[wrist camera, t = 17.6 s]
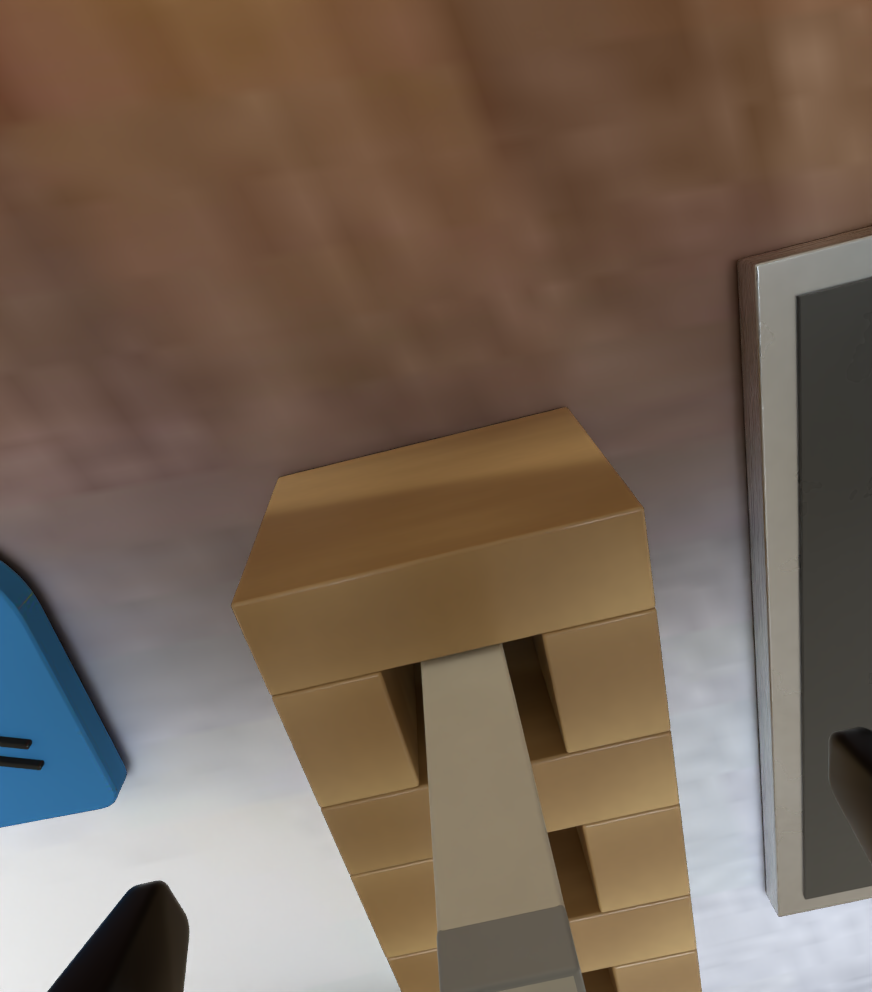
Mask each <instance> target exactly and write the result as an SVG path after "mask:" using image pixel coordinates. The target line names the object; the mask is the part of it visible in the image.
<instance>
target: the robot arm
mask: <svg viewBox="0 0 872 992" xmlns="http://www.w3.org/2000/svg"><path fill="white" fill-rule="evenodd" d="M828 777H829V783H830V786H831V789H832V792H833V794H834V796H835V798H836V800H837V802H838V804H839V806H840V808H841V809H842V811H843V813H844V815H845V817H846V819H847V820H848V822H849V824H850V826H851V828H852V830H853V832H854V833H855V835H856V837H857V839H858V841H859V843H860V844H861V846H862V848H863V850H864V852H865V854H866V855H867V857H868V859H869V861H870V863H871V865H872V731H871V730H869V729H867V728H864V727H855V728H850V729H846V730H841V731H837V732H834V733H832V734H831V736H830V737H829V757H828ZM188 943H189V923H188V919H187V916H186V914H185V912H184V911H183V909H182V908H181V906H180V904H179V903H178V901H177V900H176V898H175V896H174V895H173V893H172V892H171V890H170V888H169V887H168V885H167V884H166V883H165V882H163V881H153V882H149V883H144V884H140V885H136V886H134V887H132V888H131V889H130V890H129V891H128V892H127V893H126V894H125V895H124V896H123V897H122V899H121V900H120V901H119V902H118V904H117V905H116V906H115V907H114V909H113V910H112V911H111V912H110V914H109V915H108V916H107V918H106V919H105V920H104V921H103V923H102V924H101V925H100V926H99V928H98V929H97V930H96V931H95V933H94V934H93V935H92V936H91V938H90V939H89V940H88V941H87V943H86V944H85V945H84V946H83V948H82V949H81V950H80V951H79V953H78V954H77V955H76V956H75V958H74V959H73V960H72V961H71V963H70V964H69V965H68V966H67V968H66V969H65V970H64V971H63V973H62V974H61V975H60V976H59V978H58V979H57V980H56V981H55V983H54V984H53V985H52V986H51V988H50V989H49V990H48V991H47V992H183V991H184V981H185V972H186V962H187V952H188Z"/></svg>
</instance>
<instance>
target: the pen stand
mask: <svg viewBox="0 0 872 992" xmlns="http://www.w3.org/2000/svg"><path fill="white" fill-rule="evenodd" d="M231 607H232V610H233V612H234V614H235V617H236V619H237V621H238V623H239V626H240V628H241V630H242V632H243V635H244V637H245V639H246V641H247V644H248V646H249V648H250V651H251V653H252V655H253V657H254V660H255V662H256V664H257V666H258V669H259V671H260V673H261V675H262V678H263V680H264V682H265V684H266V687H267V689H268V691H269V694H270V695H272V700H273V702H274V705H275V707H276V709H277V711H278V714H279V716H280V718H281V721H282V723H283V725H284V727H285V730H286V732H287V734H288V736H289V739H290V741H291V743H292V745H293V748H294V750H295V752H296V754H297V757H298V759H299V761H300V763H301V766H302V768H303V770H304V773H305V775H306V777H307V779H308V782H309V784H310V786H311V788H312V791H313V793H314V795H315V797H316V800H317V802H318V804H319V806H320V807H321V811H322V813H323V816H324V818H325V820H326V822H327V825H328V827H329V829H330V832H331V834H332V836H333V838H334V841H335V843H336V845H337V847H338V850H339V852H340V854H341V856H342V859H343V861H344V863H345V865H346V868H347V870H348V872H349V874H350V877H351V879H352V882H353V884H354V886H355V888H356V891H357V893H358V895H359V898H360V900H361V902H362V904H363V907H364V909H365V911H366V913H367V916H368V918H369V920H370V922H371V925H372V927H373V929H374V931H375V934H376V936H377V938H378V940H379V943H380V945H381V947H382V950H383V952H384V954H385V956H386V957H387V960H388V962H389V964H390V967H391V969H392V971H393V973H394V976H395V978H396V980H397V983H398V985H399V987H400V989H401V992H440V988H439V971H438V954H437V938H436V937H437V933H438V932H437V916H436V900H435V884H434V868H433V852H432V835H431V819H430V803H429V787H428V771H427V754H426V738H425V722H424V706H423V690H422V674H421V662H422V661H426V660H431V659H435V658H439V657H444V656H448V655H452V654H457V653H461V652H465V651H470V650H474V649H478V648H483V647H487V646H491V645H496V644H500V643H502V645H503V649H504V653H505V657H506V661H507V666H508V670H509V674H510V678H511V682H512V687H513V691H514V695H515V699H516V703H517V708H518V712H519V716H520V720H521V724H522V729H523V733H524V737H525V741H526V745H527V750H528V754H529V758H530V762H531V766H532V771H533V775H534V779H535V783H536V787H537V792H538V796H539V800H540V804H541V808H542V813H543V817H544V821H545V825H546V830H547V834H548V838H549V842H550V846H551V851H552V855H553V859H554V863H555V867H556V872H557V876H558V880H559V884H560V888H561V893H562V897H563V901H564V905H565V909H566V912H567V916H568V920H569V924H570V929H571V933H572V937H573V941H574V945H575V949H576V953H577V957H578V961H579V965H580V969H581V973H582V977H583V981H584V985H585V990H586V992H702V988H701V979H700V971H699V963H698V955H697V948H696V937H695V929H694V921H693V912H692V904H691V896H690V886H689V878H688V869H687V861H686V853H685V845H684V836H683V828H682V820H681V811H680V804H679V795H678V787H677V778H676V770H675V762H674V753H673V745H672V737H671V731H670V719H669V711H668V702H667V694H666V686H665V677H664V669H663V661H662V652H661V644H660V636H659V627H658V619H657V611H656V609H655V596H654V587H653V579H652V571H651V562H650V554H649V546H648V538H647V529H646V521H645V513H644V508H643V506H642V505H641V504H640V502H639V501H638V500H637V498H636V497H635V496H634V494H633V493H632V492H631V490H630V489H629V488H628V486H627V485H626V484H625V483H624V481H623V480H622V479H621V477H620V476H619V475H618V473H617V472H616V471H615V469H614V468H613V467H612V465H611V464H610V463H609V461H608V460H607V459H606V457H605V456H604V455H603V454H602V452H601V451H600V450H599V448H598V447H597V446H596V444H595V443H594V442H593V440H592V439H591V438H590V436H589V435H588V434H587V432H586V431H585V430H584V429H583V427H582V426H581V425H580V423H579V422H578V421H577V419H576V418H575V417H574V415H573V414H572V413H571V411H570V410H569V409H568V408H567V407H564V408H560V409H556V410H552V411H548V412H544V413H540V414H535V415H531V416H527V417H523V418H519V419H515V420H511V421H507V422H503V423H499V424H495V425H491V426H487V427H483V428H478V429H474V430H470V431H466V432H462V433H458V434H454V435H450V436H446V437H442V438H438V439H434V440H430V441H426V442H421V443H417V444H413V445H409V446H405V447H401V448H397V449H393V450H389V451H385V452H381V453H377V454H373V455H369V456H365V457H360V458H356V459H352V460H348V461H344V462H340V463H336V464H332V465H328V466H324V467H320V468H316V469H312V470H308V471H303V472H299V473H295V474H291V475H287V476H283V477H280V478H278V480H277V483H276V485H275V488H274V491H273V493H272V496H271V499H270V501H269V504H268V507H267V509H266V512H265V515H264V517H263V520H262V523H261V525H260V528H259V531H258V533H257V536H256V539H255V541H254V544H253V547H252V550H251V552H250V555H249V558H248V560H247V563H246V566H245V568H244V571H243V574H242V576H241V579H240V582H239V584H238V587H237V590H236V592H235V595H234V598H233V600H232V603H231Z"/></svg>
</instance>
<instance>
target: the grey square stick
mask: <svg viewBox="0 0 872 992" xmlns="http://www.w3.org/2000/svg"><path fill="white" fill-rule="evenodd" d="M421 674H422V690H423V706H424V722H425V738H426V754H427V771H428V787H429V803H430V819H431V835H432V852H433V868H434V884H435V900H436V916H437V932H438V933H437V937H436V938H437V954H438V971H439V988H440V992H586V990H585V985H584V981H583V977H582V973H581V969H580V965H579V961H578V957H577V953H576V949H575V945H574V941H573V937H572V933H571V929H570V924H569V920H568V916H567V912H566V909H565V905H564V901H563V897H562V893H561V888H560V884H559V880H558V876H557V872H556V867H555V863H554V859H553V855H552V851H551V846H550V842H549V838H548V834H547V830H546V825H545V821H544V817H543V813H542V808H541V804H540V800H539V796H538V792H537V787H536V783H535V779H534V775H533V771H532V766H531V762H530V758H529V754H528V750H527V745H526V741H525V737H524V733H523V729H522V724H521V720H520V716H519V712H518V708H517V703H516V699H515V695H514V691H513V687H512V682H511V678H510V674H509V670H508V666H507V661H506V657H505V653H504V649H503V645H502V643H500V644H496V645H491V646H487V647H483V648H478V649H474V650H470V651H465V652H461V653H457V654H452V655H448V656H444V657H439V658H435V659H431V660H426V661H422V662H421Z"/></svg>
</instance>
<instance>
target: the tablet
mask: <svg viewBox="0 0 872 992" xmlns="http://www.w3.org/2000/svg"><path fill="white" fill-rule="evenodd" d="M737 265H738V287H739V309H740V330H741V352H742V373H743V395H744V416H745V438H746V459H747V481H748V502H749V524H750V545H751V567H752V588H753V610H754V631H755V653H756V674H757V696H758V717H759V739H760V760H761V782H762V804H763V825H764V847H765V868H766V890H767V896H768V898H769V900H770V902H771V904H772V906H773V908H774V910H775V912H776V913H777V915H778V916H779V917H782V916H787V915H792V914H797V913H801V912H806V911H811V910H816V909H821V908H825V907H830V906H835V905H840V904H845V903H849V902H854V901H859V900H864V899H869V898H872V865H871V863H870V861H869V859H868V857H867V855H866V854H865V852H864V850H863V848H862V846H861V844H860V843H859V841H858V839H857V837H856V835H855V833H854V832H853V830H852V828H851V826H850V824H849V822H848V820H847V819H846V817H845V815H844V813H843V811H842V809H841V808H840V806H839V804H838V802H837V800H836V798H835V796H834V794H833V792H832V789H831V786H830V783H829V777H828V757H829V737H830V736H831V734H832V733H834V732H837V731H841V730H846V729H850V728H855V727H864V728H867V729H869V730H871V731H872V226H870V227H866V228H862V229H858V230H854V231H850V232H846V233H842V234H838V235H834V236H830V237H826V238H822V239H818V240H814V241H810V242H806V243H802V244H798V245H795V246H791V247H787V248H783V249H779V250H775V251H771V252H767V253H763V254H759V255H755V256H751V257H747V258H743V259H740V260H739V261H738V263H737Z"/></svg>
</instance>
